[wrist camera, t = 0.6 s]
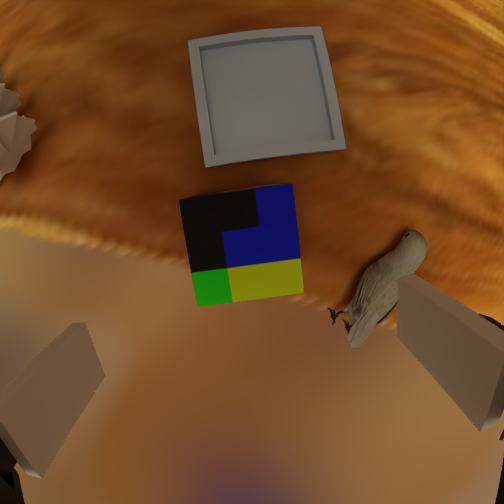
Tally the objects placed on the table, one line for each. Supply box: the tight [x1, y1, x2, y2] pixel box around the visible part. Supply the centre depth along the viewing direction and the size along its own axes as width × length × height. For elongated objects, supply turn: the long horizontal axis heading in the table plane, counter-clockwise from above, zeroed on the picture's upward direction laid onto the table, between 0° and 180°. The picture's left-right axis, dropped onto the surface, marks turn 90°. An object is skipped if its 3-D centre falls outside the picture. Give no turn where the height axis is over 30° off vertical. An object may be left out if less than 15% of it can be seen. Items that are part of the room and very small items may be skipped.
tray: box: [188, 27, 346, 168], centre depth 33 cm, size 16×16×2 cm
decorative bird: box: [328, 230, 427, 348], centre depth 36 cm, size 5×16×8 cm, turn 141°
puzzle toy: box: [179, 184, 304, 306], centre depth 33 cm, size 10×10×10 cm
